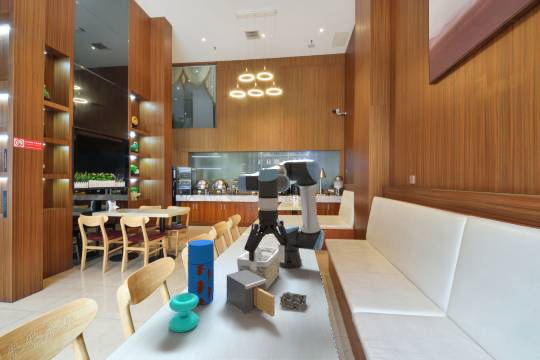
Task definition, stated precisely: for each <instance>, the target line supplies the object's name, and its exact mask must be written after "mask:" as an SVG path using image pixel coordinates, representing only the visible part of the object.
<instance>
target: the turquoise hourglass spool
mask: <svg viewBox="0 0 540 360" xmlns="http://www.w3.org/2000/svg"><path fill="white" fill-rule="evenodd" d="M198 301H199V299H198V296H197V295H195V294H193V293H188V292H181V293H179V294H176V295H175V296H173V297H172V298H171V299H170V300H169V302H168V303H169V308H170V310H172V311H174V312H176V314H174V315H173V316H172V317H171V319H170V320H169V323H168V326H169V328H170V329H171V331H173V332H176V333H184V332H188V331H190V330H192V329H194V328H195V327H196V326H197V325H198V323H199V320H200V319H199V315H198V314H197V313H196V312H195V311H192V310H194V309H195V308H196V307H197V304H198Z"/></svg>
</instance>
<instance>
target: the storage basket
mask: <svg viewBox="0 0 540 360" xmlns="http://www.w3.org/2000/svg"><path fill="white" fill-rule="evenodd" d="M255 252H257V270H256V271H254V270H252V269H250V263H251V261H249V251H245V252H244V253H243V254H241V255H240V256H238V257H237V259H236V265H237V270H238V271H237V272H239V271H242V270H248V271H250V272H252V273H254V274H256V275H258V276H260V277H262V278H264V279H266V280H267V283H265V291H267V290H268V289H269V287H271V285H272V284H273V283H274V282H275V280H276V279H277V277H278V276H279V274H280V266H279V264H280V262H279V261H278V247H272V246H271V247H269V246H260V245H258V247H257V248H256V250H255ZM263 252H264V253H271V255H264V254H263Z"/></svg>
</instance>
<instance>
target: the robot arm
mask: <svg viewBox="0 0 540 360" xmlns="http://www.w3.org/2000/svg"><path fill="white" fill-rule="evenodd" d="M320 180H321V169H320V166H319V163H318V162H317V161H316V160H315V159H296V160H295V159H293V160H290V159H289V160H286V161H285V160H284V161H281V162H279V163H276V164H274V165H272V166H271V167H268V168H267V167H264V168H263V167H262V168H260V169H259V170H258V171H257V172H253V173H250V174H248V173H245V174H240V175H239V176H238V177H237V185H236V186H237V188H238V190H239V191H241V192H247V193H248V192H250V193H252V192H253V193H255V192H257V193H258V205H257V206H258V209H259V210H258V211H257V213H258V214H257V215H258V216H257V218H258V223H254V222H253V223H252V224H251V229H250V232H249V235H248V238H247V240H246V243H245V245H244V247H243V250H244V251H245V252H247V251H249V261H251V263H250V269H252V270H254V271H256V270H257V252H255V250H256V248H257V247H258V246H260V243H261V242H262V240H263V238H264V237H266V235H270V234H271V235H273V236H274V238H275V239H276V240H277V241H278V243H279V244H278V245H277V248H278V261H279V262H280V264H279V267H282V268H285V269H286V268H288V269H291V268H292V269H294V268H299V267H302V265H303V264H302V263H303V260H302V257H301V254H300V249H301V250H310V251H311V250H312V251H320V250H321V249H322V248H323V243H324V239H325V231H324V230H322V228H321V225H319V224H318V212H317V210H318V209H317V199H316V198H317V197H316V195H317V194H316V186H317V185H318V182H319V181H320ZM291 182H295V183H296V186H297V187H298V188H299V195H300V196H299V197H300V207H301V208H300V209H301V217H302V219H301V221H302V225H301V226H300V227H299V225H295V224H294V225H287V226H285V225H284V220H281V219H280V220H279V210H278V209H279V193H284V192H287V190H288V189H290V187H291Z"/></svg>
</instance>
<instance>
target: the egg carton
mask: <svg viewBox="0 0 540 360" xmlns="http://www.w3.org/2000/svg"><path fill="white" fill-rule="evenodd" d="M307 297H308V296H307V294H299V293H295V292H294V293H293V292H290V291H286V292H284V293H283V294H282V295H281V296H279V300H280V302H279V304H280V305H281V306H282V307H289V308H291V309H292V308H297V309H298V310H303V309H305V305H307Z"/></svg>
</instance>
